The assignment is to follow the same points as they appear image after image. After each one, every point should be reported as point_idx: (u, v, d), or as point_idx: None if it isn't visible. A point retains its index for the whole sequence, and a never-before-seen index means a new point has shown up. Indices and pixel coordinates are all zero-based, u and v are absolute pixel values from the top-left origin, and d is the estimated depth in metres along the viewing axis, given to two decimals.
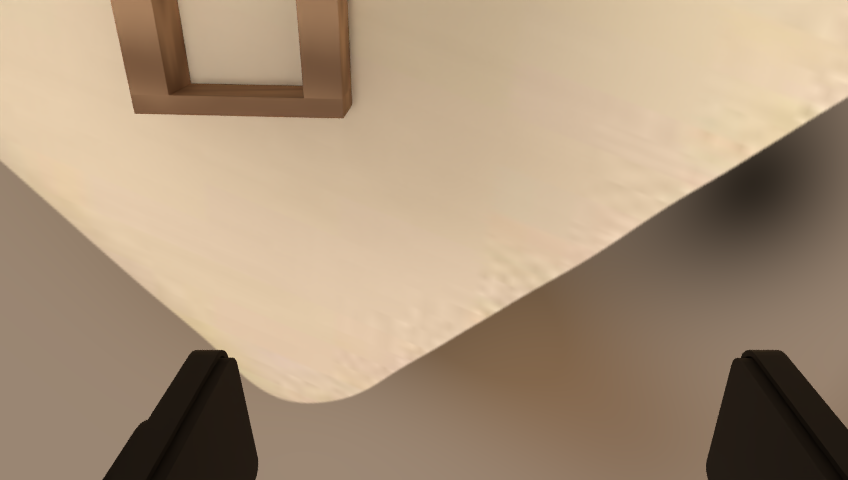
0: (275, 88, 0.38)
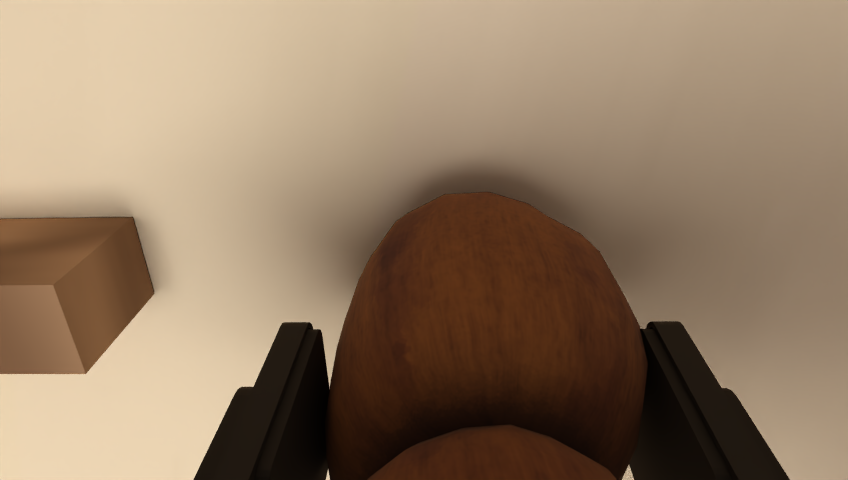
0: None
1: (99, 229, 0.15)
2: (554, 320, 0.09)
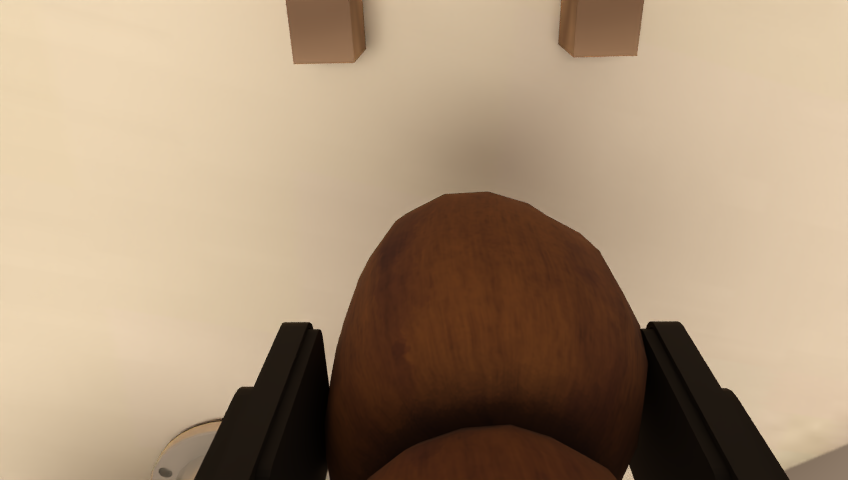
0: None
1: (362, 39, 0.25)
2: (554, 320, 0.09)
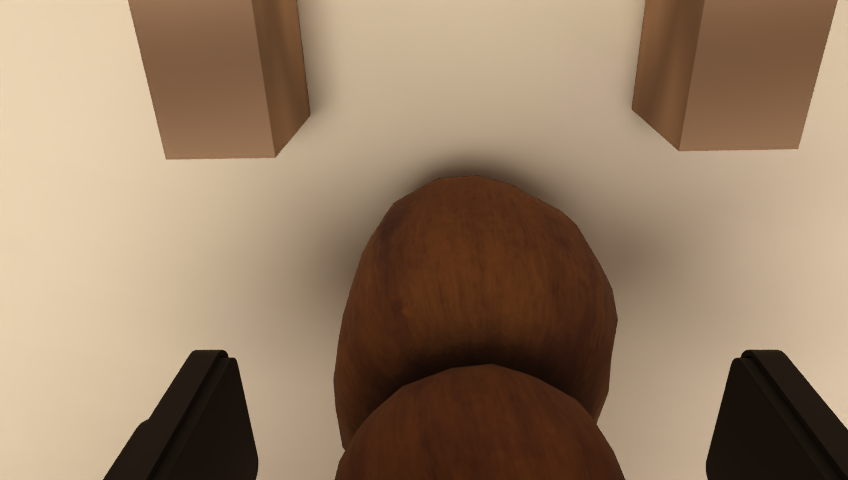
0: None
1: (301, 103, 0.15)
2: (530, 277, 0.10)
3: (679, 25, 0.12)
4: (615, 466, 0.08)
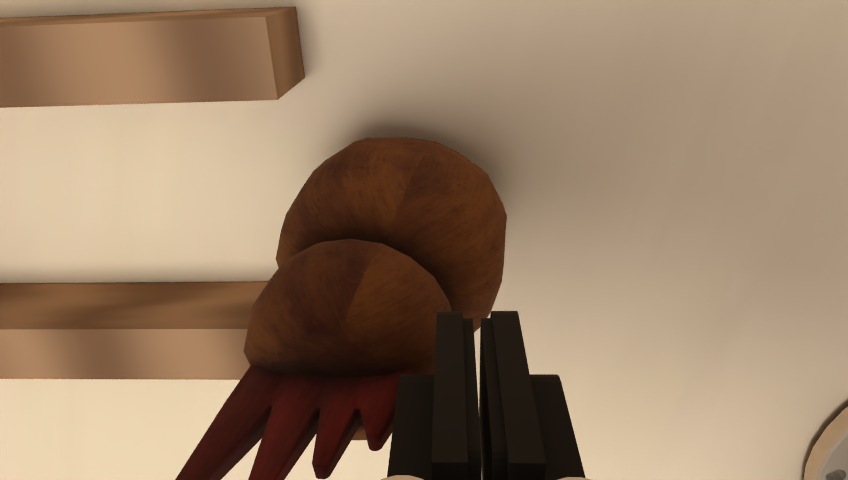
0: None
1: None
2: (280, 243, 0.17)
3: None
4: (289, 263, 0.14)
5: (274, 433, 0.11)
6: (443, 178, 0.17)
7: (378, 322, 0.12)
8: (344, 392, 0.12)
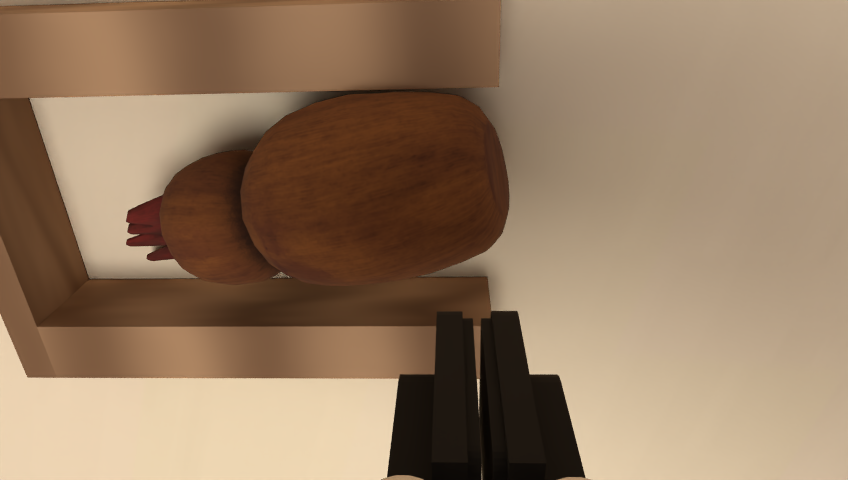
0: (57, 237, 0.23)
1: (475, 286, 0.23)
2: None
3: None
4: None
5: None
6: None
7: None
8: None
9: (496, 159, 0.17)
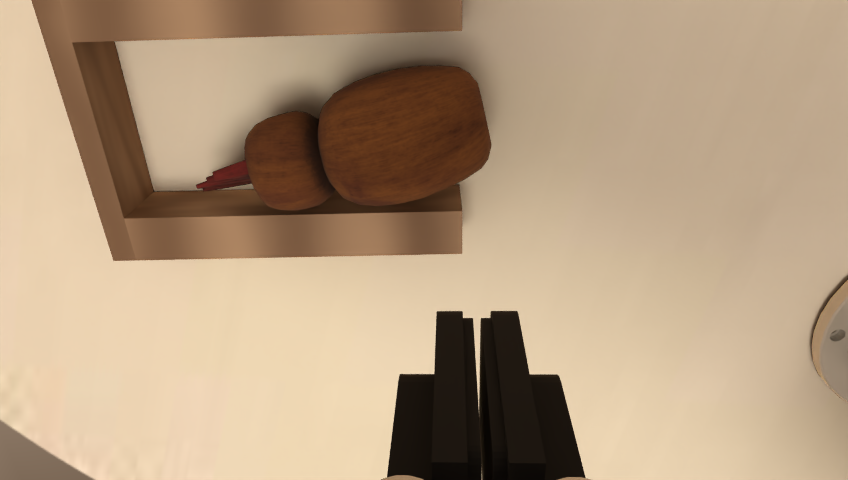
0: (134, 155, 0.30)
1: (450, 190, 0.31)
2: None
3: None
4: None
5: None
6: (365, 82, 0.25)
7: (247, 137, 0.27)
8: None
9: None
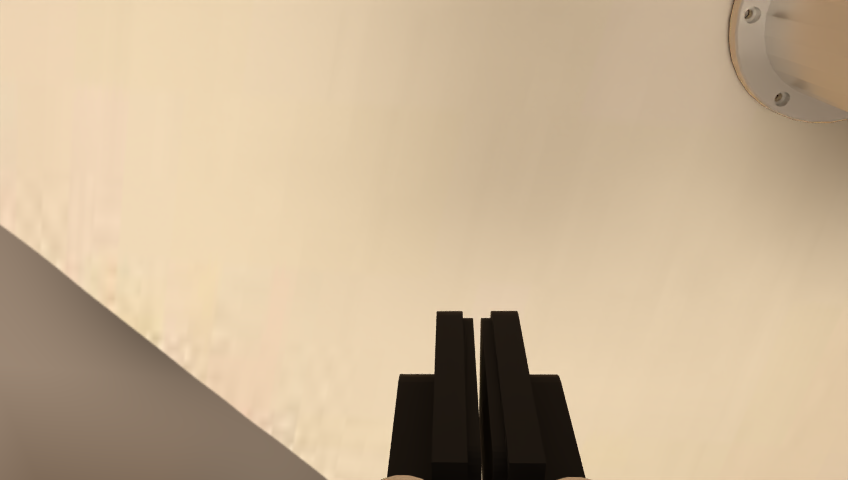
0: None
1: None
2: None
3: None
4: None
5: None
6: None
7: None
8: None
9: None
